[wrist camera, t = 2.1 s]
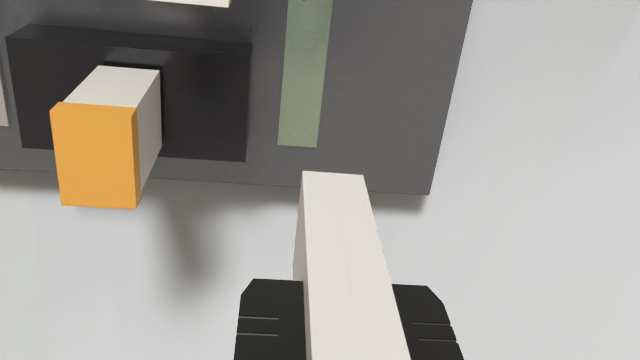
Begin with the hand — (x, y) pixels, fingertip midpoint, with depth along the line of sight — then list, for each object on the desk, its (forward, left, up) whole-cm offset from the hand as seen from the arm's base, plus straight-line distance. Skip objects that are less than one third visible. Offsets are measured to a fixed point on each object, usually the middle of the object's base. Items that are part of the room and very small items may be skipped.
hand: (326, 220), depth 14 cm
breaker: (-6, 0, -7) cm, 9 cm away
